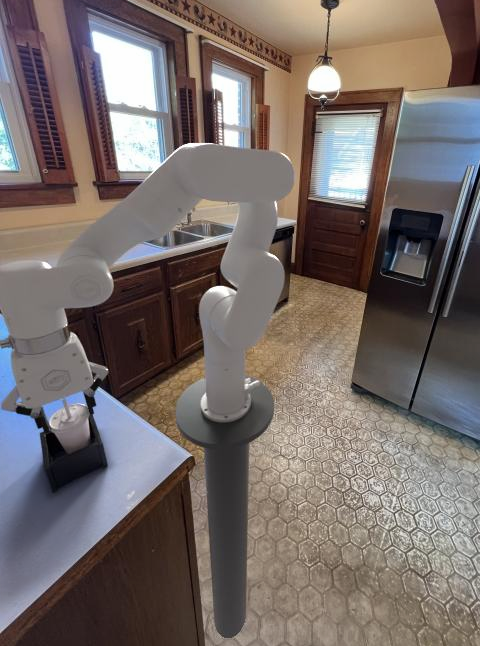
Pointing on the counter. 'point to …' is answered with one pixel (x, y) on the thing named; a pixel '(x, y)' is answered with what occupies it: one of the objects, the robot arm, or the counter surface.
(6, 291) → the robot arm
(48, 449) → the bottle stand
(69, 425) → the smoothie
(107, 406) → the counter surface
